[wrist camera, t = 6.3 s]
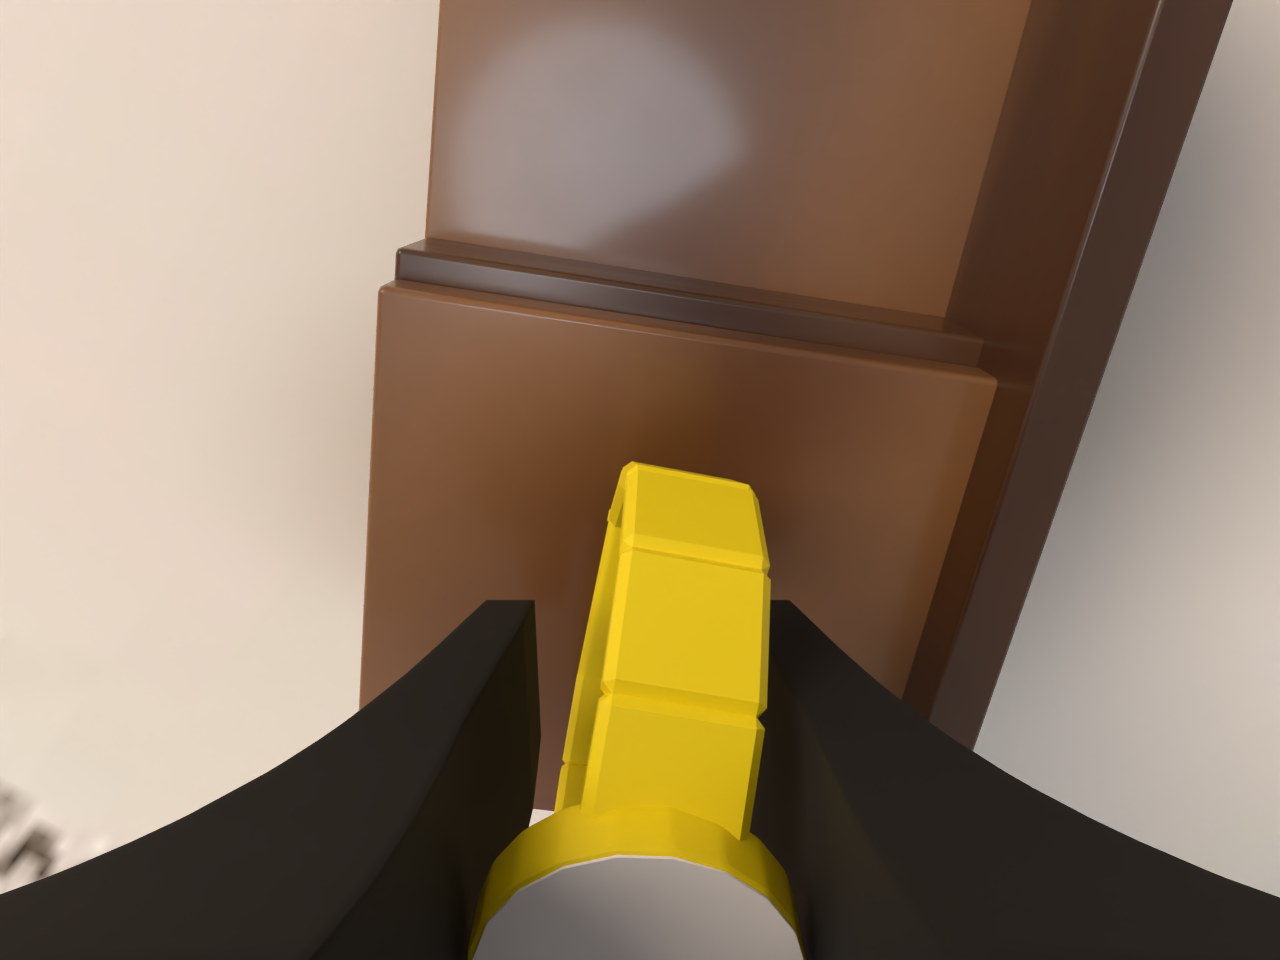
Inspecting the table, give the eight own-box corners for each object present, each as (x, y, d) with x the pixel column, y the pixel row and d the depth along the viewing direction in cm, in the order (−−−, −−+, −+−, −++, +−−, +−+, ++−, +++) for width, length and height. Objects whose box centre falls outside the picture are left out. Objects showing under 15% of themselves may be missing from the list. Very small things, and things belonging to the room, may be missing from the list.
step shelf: (1059, -177, 14) (1389, -440, 8) (833, 670, 19) (921, 905, 13) (501, -282, 13) (385, -649, 7) (431, 617, 19) (332, 835, 13)
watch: (579, 391, 11) (522, 618, 6) (784, 429, 12) (922, 686, 6) (513, 760, 13) (426, 1191, 8) (689, 787, 14) (725, 1229, 8)
